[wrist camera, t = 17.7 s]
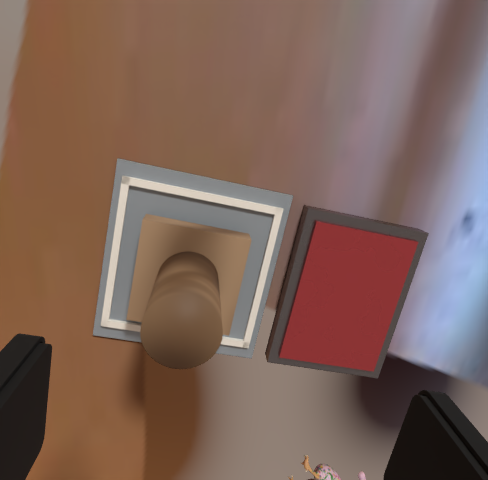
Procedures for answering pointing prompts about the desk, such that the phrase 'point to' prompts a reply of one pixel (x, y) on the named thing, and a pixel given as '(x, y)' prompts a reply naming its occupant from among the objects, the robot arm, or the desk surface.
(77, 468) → the desk surface
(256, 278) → the board
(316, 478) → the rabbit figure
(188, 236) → the stamp
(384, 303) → the ink pad
